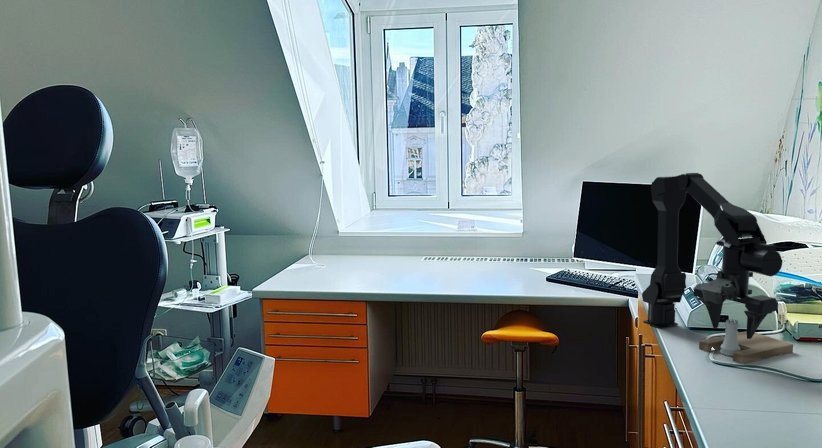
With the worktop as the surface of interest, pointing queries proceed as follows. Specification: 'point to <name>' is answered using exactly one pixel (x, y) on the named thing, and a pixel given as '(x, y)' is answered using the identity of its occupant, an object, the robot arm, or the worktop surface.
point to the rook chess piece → (730, 338)
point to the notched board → (750, 347)
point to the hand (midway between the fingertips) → (731, 333)
